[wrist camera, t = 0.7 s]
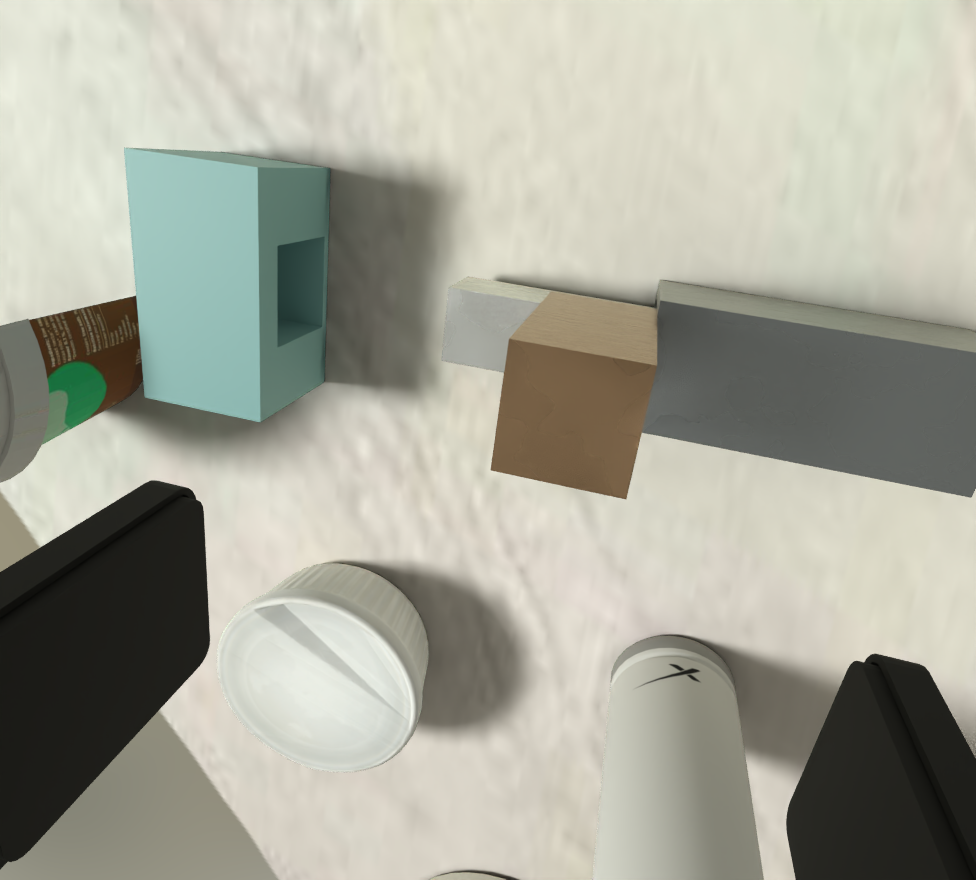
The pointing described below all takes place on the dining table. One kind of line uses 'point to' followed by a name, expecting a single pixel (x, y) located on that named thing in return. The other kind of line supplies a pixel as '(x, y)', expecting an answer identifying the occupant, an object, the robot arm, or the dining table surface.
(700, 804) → the travel mug
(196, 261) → the socket block
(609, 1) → the dining table surface
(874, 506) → the dining table surface
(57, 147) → the dining table surface
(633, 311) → the multicoloured piece
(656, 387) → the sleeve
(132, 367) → the food container
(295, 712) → the ramekin
